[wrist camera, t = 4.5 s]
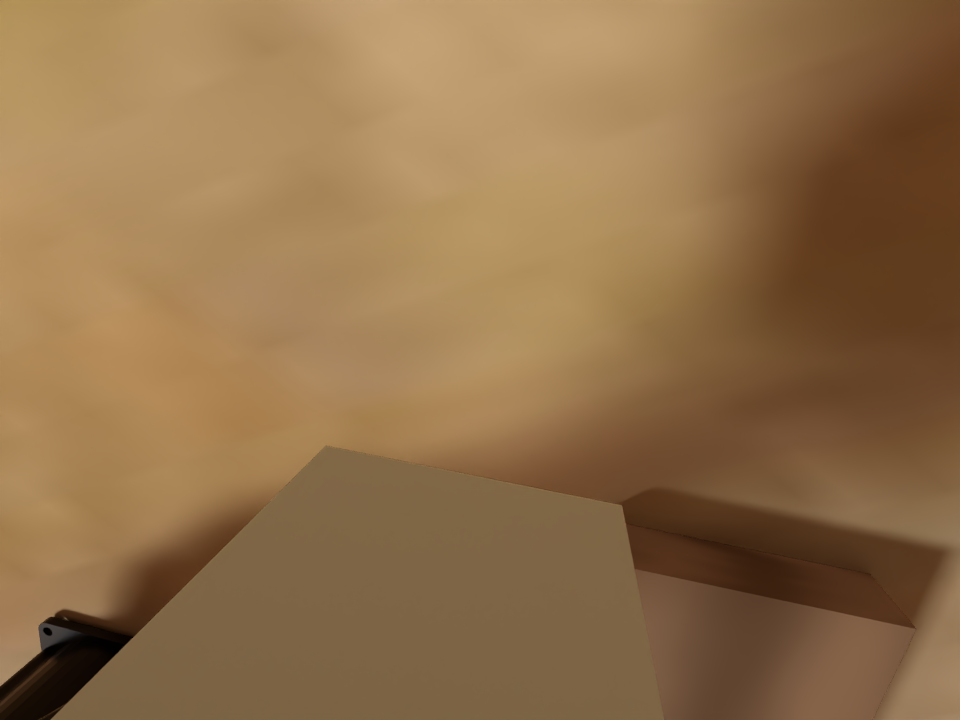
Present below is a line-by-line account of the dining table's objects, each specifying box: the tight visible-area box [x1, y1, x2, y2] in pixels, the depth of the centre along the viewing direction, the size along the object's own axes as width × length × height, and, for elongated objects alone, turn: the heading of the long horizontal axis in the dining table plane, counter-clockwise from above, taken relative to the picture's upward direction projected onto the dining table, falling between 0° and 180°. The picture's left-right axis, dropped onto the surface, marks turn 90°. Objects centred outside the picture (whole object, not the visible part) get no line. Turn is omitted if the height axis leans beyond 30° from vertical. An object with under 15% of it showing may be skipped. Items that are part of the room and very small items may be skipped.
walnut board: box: [626, 524, 916, 720], centre depth 19 cm, size 10×10×3 cm
